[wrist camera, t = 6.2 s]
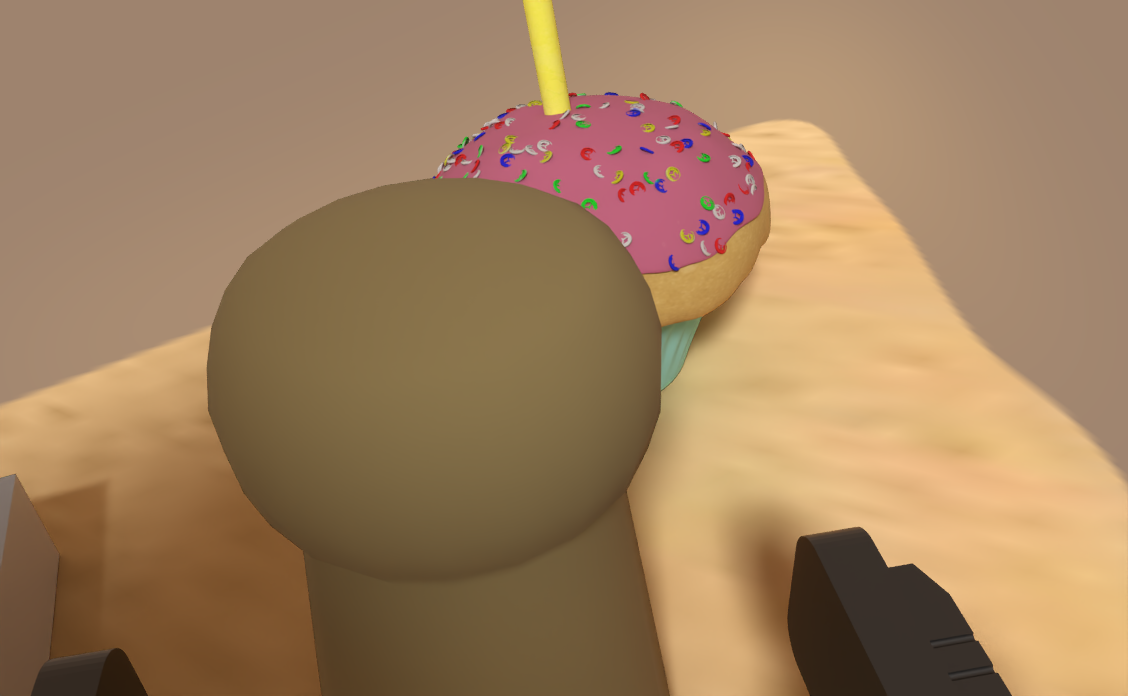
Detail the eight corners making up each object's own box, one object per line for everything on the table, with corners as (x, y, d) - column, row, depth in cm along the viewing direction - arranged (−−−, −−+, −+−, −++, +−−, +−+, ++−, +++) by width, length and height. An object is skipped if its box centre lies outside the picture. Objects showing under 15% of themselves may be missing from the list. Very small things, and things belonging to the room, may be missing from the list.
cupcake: (385, 372, 27) (285, -95, 20) (584, 245, 32) (562, -166, 24) (629, 513, 22) (615, -38, 15) (819, 337, 27) (877, -140, 20)
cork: (310, 707, 18) (115, 183, 12) (602, 600, 20) (573, 86, 13) (384, 1054, 14) (133, 510, 7) (755, 878, 15) (825, 304, 9)
